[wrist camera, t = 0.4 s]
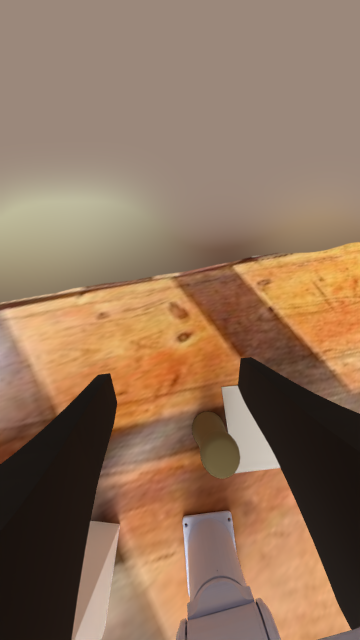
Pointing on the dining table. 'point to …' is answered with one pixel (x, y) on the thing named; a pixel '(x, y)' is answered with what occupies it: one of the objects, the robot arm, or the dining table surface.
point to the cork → (215, 445)
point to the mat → (246, 434)
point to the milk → (95, 581)
